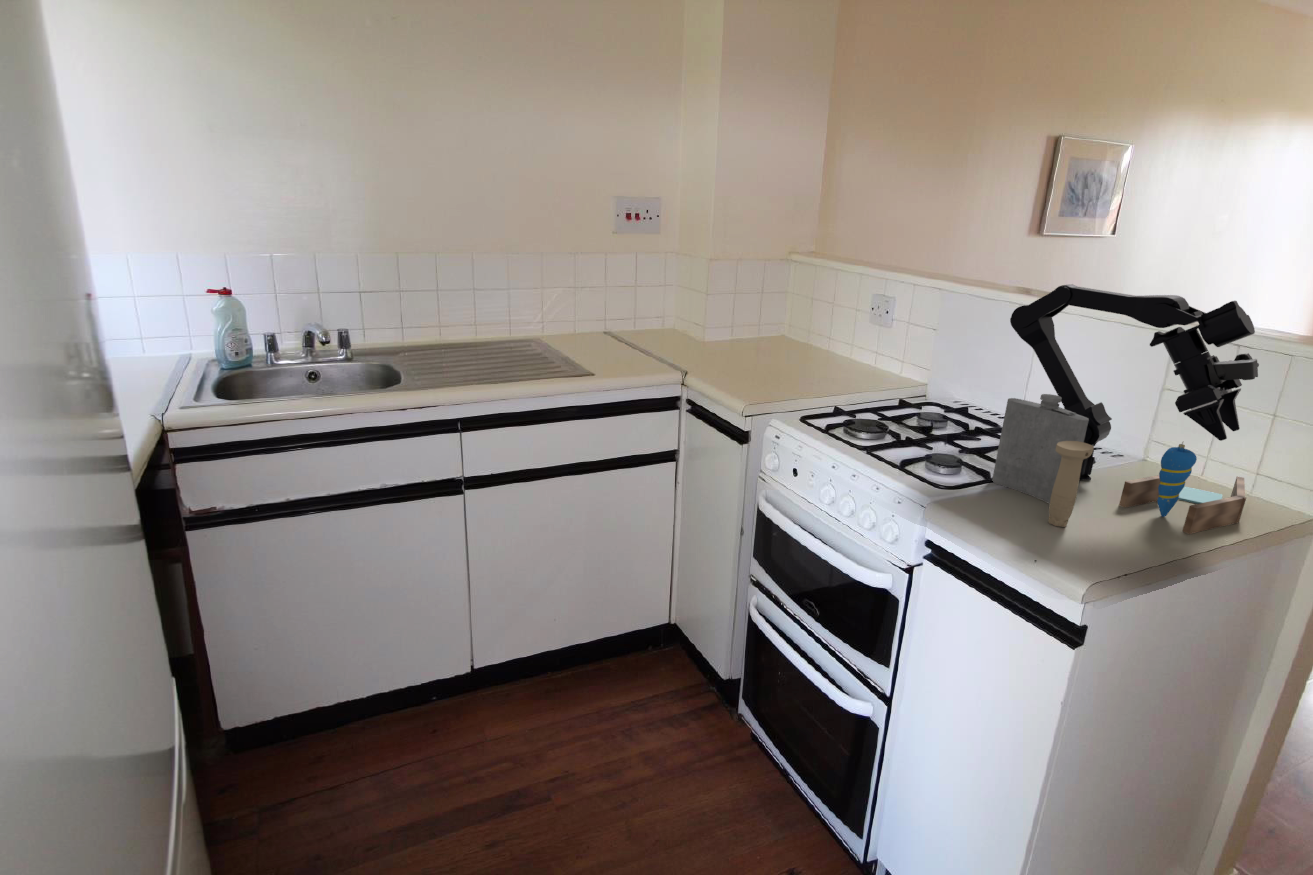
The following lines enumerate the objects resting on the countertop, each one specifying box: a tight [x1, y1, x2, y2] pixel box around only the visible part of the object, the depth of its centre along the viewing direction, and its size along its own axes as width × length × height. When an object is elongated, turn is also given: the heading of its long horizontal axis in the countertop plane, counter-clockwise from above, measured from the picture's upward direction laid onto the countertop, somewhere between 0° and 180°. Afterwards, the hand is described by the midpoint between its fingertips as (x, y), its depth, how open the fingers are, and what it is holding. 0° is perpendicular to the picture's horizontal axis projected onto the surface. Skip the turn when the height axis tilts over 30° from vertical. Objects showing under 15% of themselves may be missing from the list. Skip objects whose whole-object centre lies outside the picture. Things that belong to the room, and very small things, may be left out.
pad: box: [1177, 485, 1223, 504], centre depth 152 cm, size 8×8×1 cm
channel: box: [1118, 474, 1247, 535], centre depth 145 cm, size 25×26×5 cm
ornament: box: [1156, 441, 1198, 518], centre depth 139 cm, size 5×5×15 cm
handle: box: [1048, 441, 1095, 528], centre depth 134 cm, size 5×6×15 cm
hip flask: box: [991, 393, 1089, 505], centre depth 148 cm, size 16×4×20 cm, turn 32°
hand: (1230, 435), depth 139 cm, fingers open, 9 cm apart
